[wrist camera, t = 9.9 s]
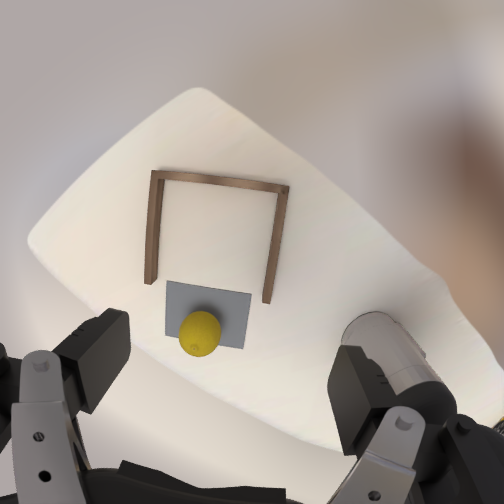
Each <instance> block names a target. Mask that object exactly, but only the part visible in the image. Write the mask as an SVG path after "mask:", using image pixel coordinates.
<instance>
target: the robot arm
mask: <svg viewBox="0 0 504 504" xmlns="http://www.w3.org/2000/svg"><path fill="white" fill-rule="evenodd" d="M130 351H131V342H130V326H129V315H128V313H127V312H125V311H121V310H117V309H112V308H108V309H107V310H106V311H104V312H103V313H102V314H101V315H100V316H99V317H94V318H92V319H89V320H87V321H85V322H83V323H82V324H81V325H80V326H79V327H78V328H77V329H76V330H74V331H73V332H72V334H71V335H69V336H68V337H67V338H66V339H65V340H63V341H62V342H61V343H60V344H59V345H58V346H57V347H56V348H55V349H53V351H51V352H50V351H46V350H38V351H34V352H31V353H29V354H28V355H26V356H25V357H24V358H23V360H22V359H16V358H11V357H8V356H7V353H6V350H5V347H4V345H3V344H2V343H0V453H1V452H2V450H3V449H4V447H5V446H6V444H7V443H8V441H9V440H10V439H11V437H12V454H13V465H14V475H15V482H16V489H17V493H14V494H10V495H6V496H2V497H0V504H303V503H300V502H297V501H294V500H291V499H286V489H285V488H265V487H251V486H240V487H226V488H198V487H195V486H192V485H190V484H188V483H185V482H183V481H181V480H178V479H176V478H174V477H172V476H170V475H168V474H165V473H163V472H161V471H158V470H155V469H151V468H147V467H144V466H141V465H137V464H134V463H131V462H128V461H125V460H122V462H121V464H120V467H119V469H115V468H97V469H92V468H91V466H90V463H89V461H88V458H87V455H86V451H85V447H84V443H83V440H82V436H81V432H80V428H79V423H78V419H77V417H76V415H77V413H78V412H79V411H80V410H81V411H83V412H86V413H88V414H92V413H93V411H94V410H95V408H96V407H97V405H98V404H99V402H100V400H101V399H102V398H103V396H104V395H105V393H106V392H107V390H108V389H109V387H110V386H111V384H112V383H113V381H114V380H115V378H116V377H117V376H118V374H119V373H120V371H121V370H122V368H123V367H124V365H125V364H126V362H127V361H128V359H129V356H130ZM425 357H426V354H425V352H424V351H423V350H422V349H421V348H420V346H419V345H418V344H417V343H416V342H415V340H414V339H413V338H412V337H411V336H410V334H409V333H408V332H407V331H406V330H405V329H404V328H403V326H402V325H401V324H400V323H396V322H394V321H393V320H392V319H391V317H389V316H388V315H386V314H384V313H380V312H372V313H367V314H364V315H362V316H360V317H358V318H357V319H356V320H354V321H353V322H352V323H351V324H350V325H349V326H348V328H347V329H346V331H345V332H344V335H343V337H342V345H341V346H340V347H339V349H338V352H337V355H336V358H335V361H334V364H333V367H332V369H331V372H330V375H329V379H328V385H327V390H328V395H329V399H330V402H331V406H332V410H333V414H334V417H335V421H336V425H337V429H338V433H339V437H340V441H341V445H342V449H343V453H344V455H345V456H348V455H356V456H357V461H356V463H355V464H354V466H353V467H352V469H351V470H350V472H349V473H348V475H347V476H346V478H345V479H344V481H343V482H342V483H341V485H340V486H339V488H338V489H337V490H336V492H335V493H334V495H333V496H332V497H331V499H330V500H329V501H328V503H327V504H504V436H503V435H501V434H500V433H499V432H497V431H495V430H493V429H492V428H489V427H487V426H484V425H480V424H477V423H476V422H475V421H474V420H473V419H472V418H470V417H468V416H466V415H463V414H457V404H456V401H455V398H454V396H453V395H452V393H451V392H450V391H449V389H448V388H447V387H446V385H445V384H444V383H443V381H442V380H441V379H440V377H439V376H438V375H437V374H436V372H435V371H434V370H433V369H432V367H431V366H430V365H429V364H428V362H427V361H426V360H425Z"/></svg>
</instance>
